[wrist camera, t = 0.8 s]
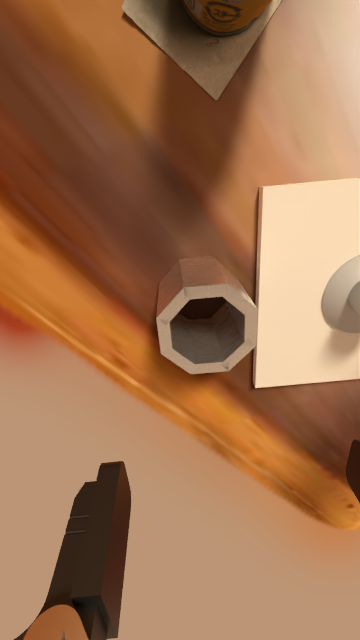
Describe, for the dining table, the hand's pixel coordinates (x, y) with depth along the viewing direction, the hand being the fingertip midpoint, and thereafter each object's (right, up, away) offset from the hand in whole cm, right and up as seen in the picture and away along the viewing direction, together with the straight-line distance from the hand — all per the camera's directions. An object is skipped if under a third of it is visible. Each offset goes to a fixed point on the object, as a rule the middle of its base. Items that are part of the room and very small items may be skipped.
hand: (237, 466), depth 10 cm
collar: (-1, +7, +15) cm, 17 cm away
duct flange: (+14, +8, +15) cm, 22 cm away
